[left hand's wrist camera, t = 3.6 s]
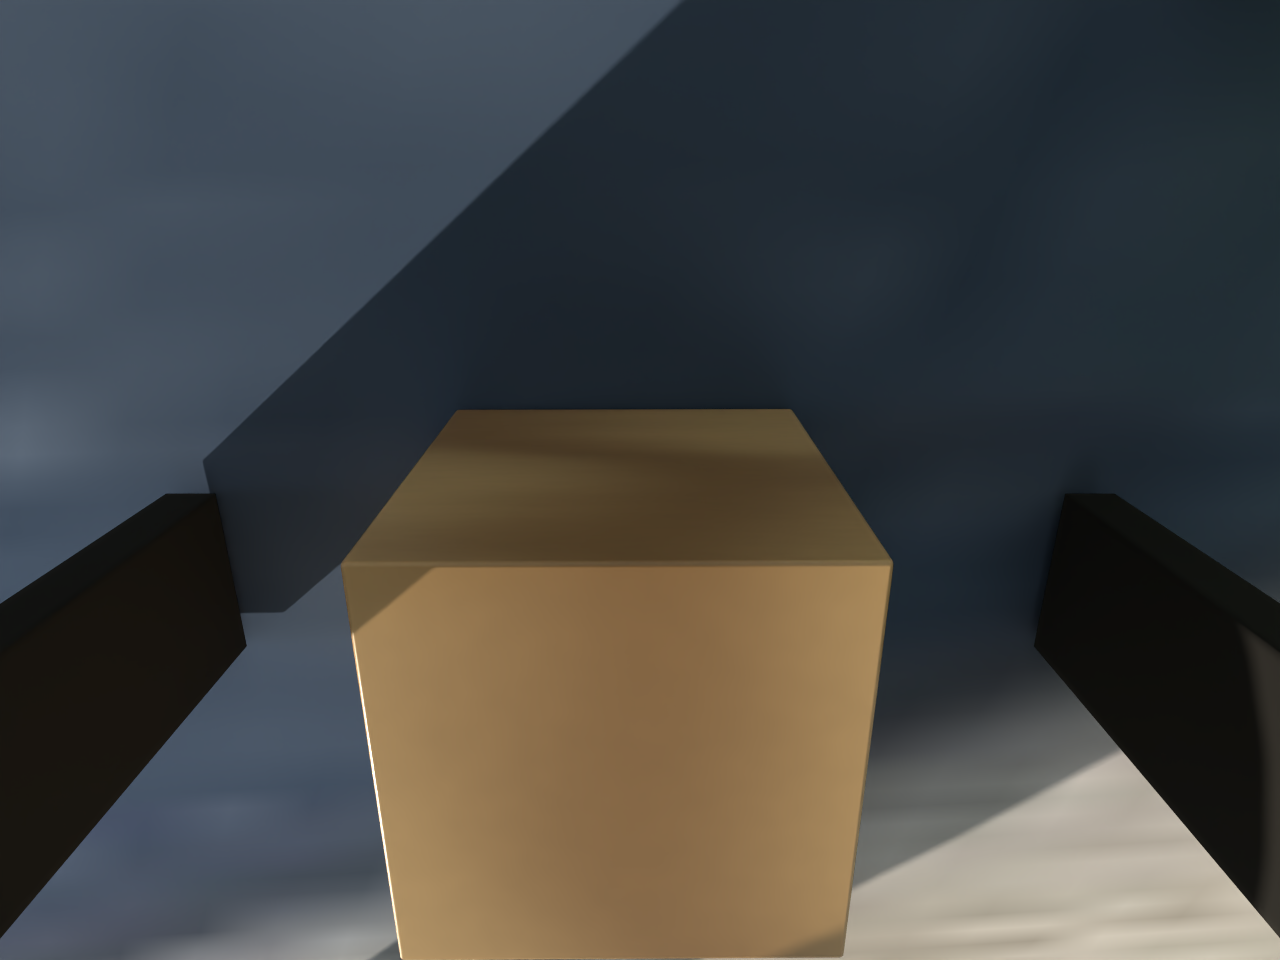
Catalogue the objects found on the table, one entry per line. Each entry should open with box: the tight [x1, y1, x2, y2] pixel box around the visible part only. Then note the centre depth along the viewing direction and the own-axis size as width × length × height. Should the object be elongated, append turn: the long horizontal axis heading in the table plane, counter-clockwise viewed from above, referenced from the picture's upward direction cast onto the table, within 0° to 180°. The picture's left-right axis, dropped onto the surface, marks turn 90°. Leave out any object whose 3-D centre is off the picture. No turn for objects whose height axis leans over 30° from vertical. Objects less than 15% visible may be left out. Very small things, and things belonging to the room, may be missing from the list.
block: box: [341, 409, 894, 960], centre depth 10 cm, size 5×5×5 cm
